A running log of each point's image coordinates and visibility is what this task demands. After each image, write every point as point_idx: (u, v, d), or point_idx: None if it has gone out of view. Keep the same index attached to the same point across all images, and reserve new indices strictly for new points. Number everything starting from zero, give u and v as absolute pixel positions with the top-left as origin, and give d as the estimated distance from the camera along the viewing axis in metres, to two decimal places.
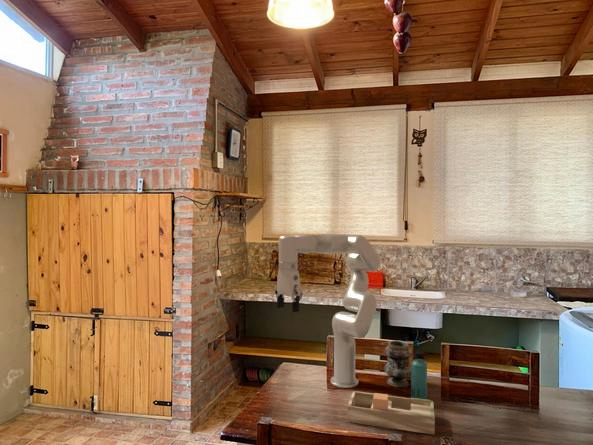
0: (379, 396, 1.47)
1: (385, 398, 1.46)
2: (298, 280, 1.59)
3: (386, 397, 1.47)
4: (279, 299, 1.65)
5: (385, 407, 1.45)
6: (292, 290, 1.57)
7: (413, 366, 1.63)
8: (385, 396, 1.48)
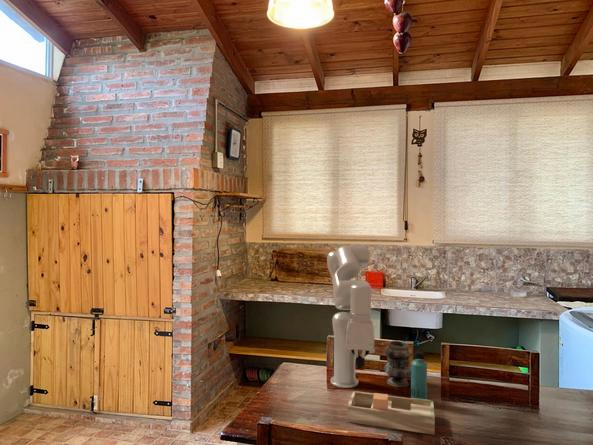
0: (379, 396, 1.47)
1: (385, 398, 1.46)
2: (346, 331, 1.50)
3: (386, 397, 1.47)
4: None
5: (385, 407, 1.45)
6: None
7: (413, 366, 1.63)
8: (385, 396, 1.48)
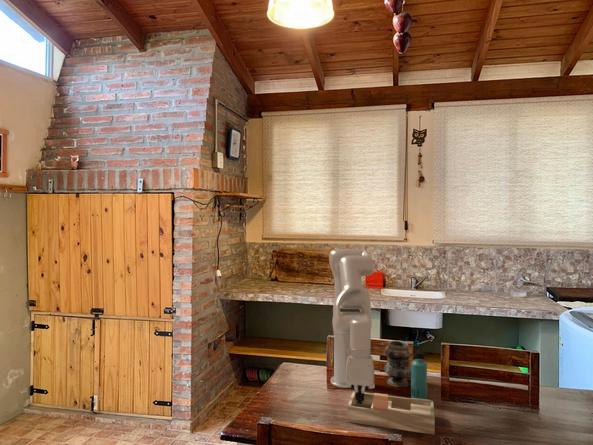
0: (379, 396, 1.47)
1: (385, 398, 1.46)
2: (346, 366, 1.50)
3: (386, 397, 1.47)
4: None
5: (385, 407, 1.45)
6: None
7: (413, 366, 1.63)
8: (385, 396, 1.48)
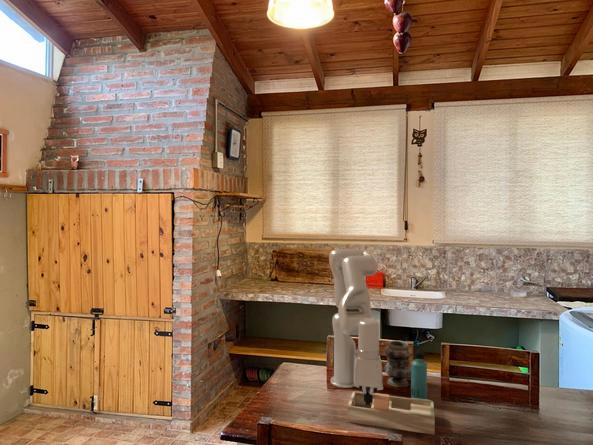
0: (380, 397, 1.47)
1: (386, 398, 1.46)
2: (354, 367, 1.49)
3: (387, 397, 1.47)
4: None
5: (386, 407, 1.45)
6: None
7: (413, 366, 1.63)
8: (386, 396, 1.47)
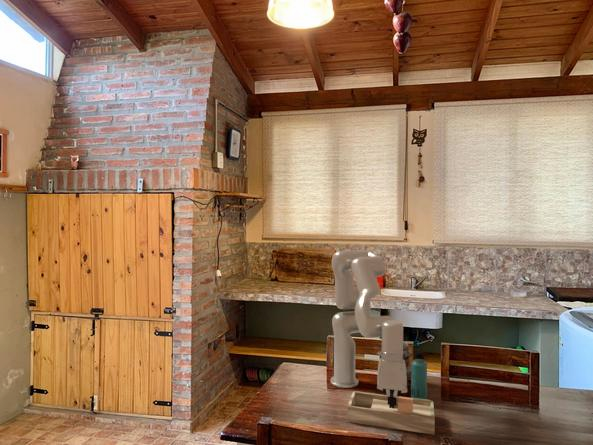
0: (404, 400, 1.44)
1: (410, 402, 1.43)
2: (378, 369, 1.46)
3: (411, 401, 1.44)
4: None
5: (410, 411, 1.42)
6: None
7: (413, 366, 1.63)
8: (411, 400, 1.45)
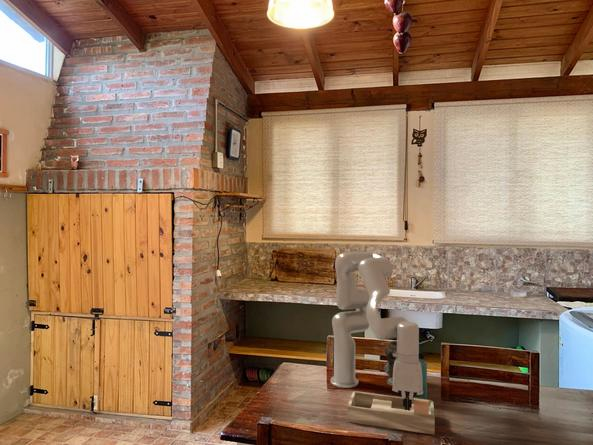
0: (420, 402, 1.43)
1: (426, 404, 1.42)
2: (393, 371, 1.45)
3: (427, 403, 1.42)
4: None
5: (427, 413, 1.40)
6: None
7: None
8: (426, 402, 1.43)
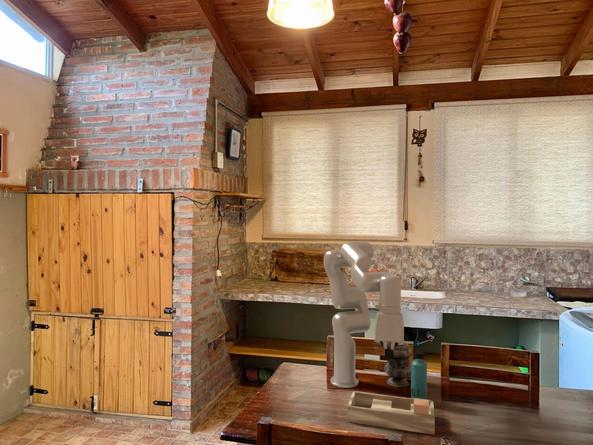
0: (420, 402, 1.43)
1: (426, 404, 1.42)
2: None
3: (427, 403, 1.42)
4: None
5: (427, 413, 1.40)
6: None
7: (413, 366, 1.63)
8: (426, 402, 1.43)
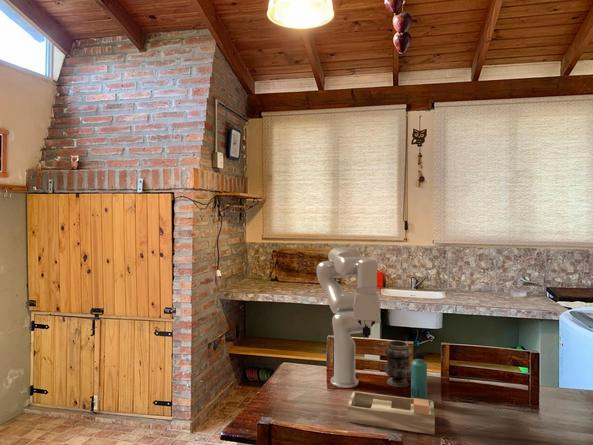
0: (420, 402, 1.43)
1: (426, 404, 1.42)
2: (353, 303, 1.60)
3: (427, 403, 1.42)
4: None
5: (427, 413, 1.40)
6: None
7: (413, 366, 1.63)
8: (426, 402, 1.43)
